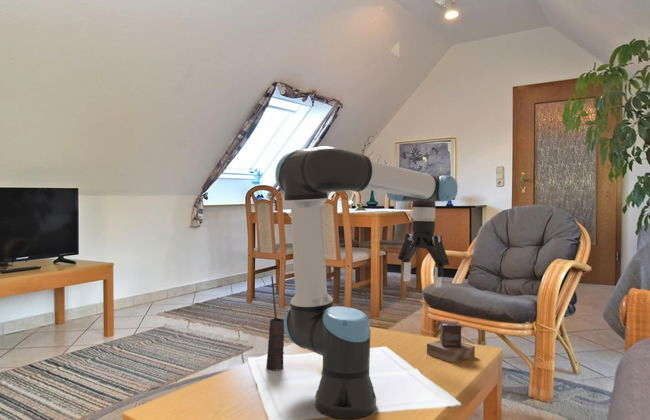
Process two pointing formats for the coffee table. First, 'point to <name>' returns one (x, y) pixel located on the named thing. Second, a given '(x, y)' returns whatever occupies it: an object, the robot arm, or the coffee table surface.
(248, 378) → the coffee table surface
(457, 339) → the box
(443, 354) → the walnut block
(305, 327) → the robot arm
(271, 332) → the butter churn
